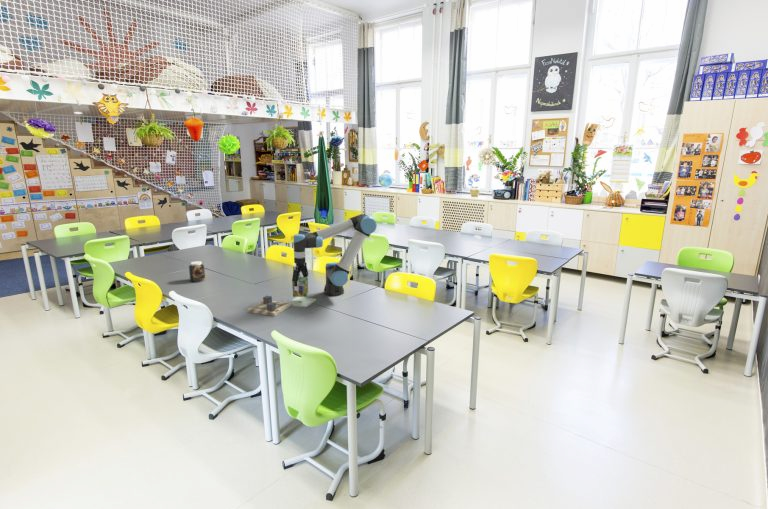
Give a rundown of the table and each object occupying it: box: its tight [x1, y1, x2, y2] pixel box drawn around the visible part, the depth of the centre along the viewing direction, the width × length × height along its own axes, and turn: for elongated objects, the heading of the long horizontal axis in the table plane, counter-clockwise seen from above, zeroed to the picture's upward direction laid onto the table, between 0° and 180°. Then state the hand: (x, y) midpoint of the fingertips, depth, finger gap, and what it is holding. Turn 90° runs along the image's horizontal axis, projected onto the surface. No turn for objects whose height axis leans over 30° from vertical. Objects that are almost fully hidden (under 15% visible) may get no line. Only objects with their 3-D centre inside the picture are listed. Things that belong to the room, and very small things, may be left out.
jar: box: [188, 260, 206, 283], centre depth 330 cm, size 12×12×15 cm
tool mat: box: [286, 297, 317, 308], centre depth 284 cm, size 15×15×1 cm
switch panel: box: [247, 300, 292, 317], centre depth 271 cm, size 20×19×2 cm
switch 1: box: [262, 295, 273, 304], centre depth 276 cm, size 4×4×4 cm
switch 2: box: [267, 302, 276, 311], centre depth 263 cm, size 4×4×4 cm
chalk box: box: [291, 273, 309, 298], centre depth 281 cm, size 9×9×15 cm
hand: (300, 288), depth 282 cm, fingers closed on chalk box, 10 cm apart
